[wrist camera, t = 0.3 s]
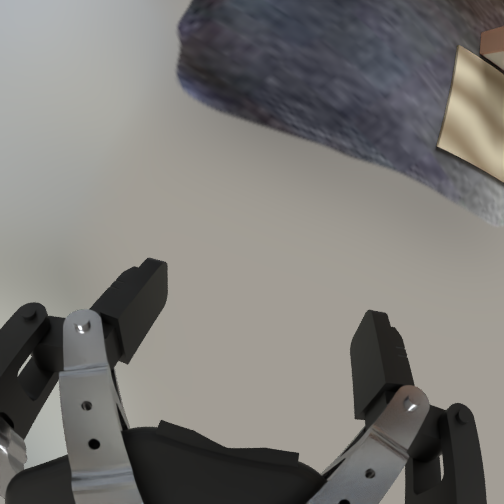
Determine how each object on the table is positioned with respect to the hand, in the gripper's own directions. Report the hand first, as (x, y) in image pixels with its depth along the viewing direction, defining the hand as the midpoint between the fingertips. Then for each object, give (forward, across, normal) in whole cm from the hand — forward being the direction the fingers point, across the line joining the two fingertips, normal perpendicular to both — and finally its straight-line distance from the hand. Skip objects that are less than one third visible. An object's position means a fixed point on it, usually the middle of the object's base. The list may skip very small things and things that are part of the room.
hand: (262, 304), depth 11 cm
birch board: (+29, -27, -16) cm, 42 cm away
